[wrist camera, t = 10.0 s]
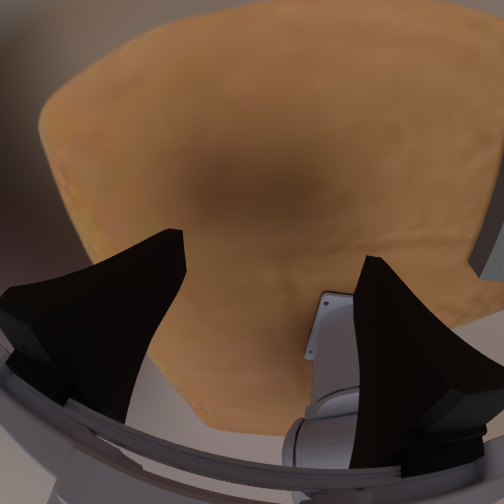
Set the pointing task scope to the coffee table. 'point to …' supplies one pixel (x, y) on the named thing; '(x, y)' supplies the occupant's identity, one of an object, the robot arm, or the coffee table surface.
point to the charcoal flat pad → (491, 238)
